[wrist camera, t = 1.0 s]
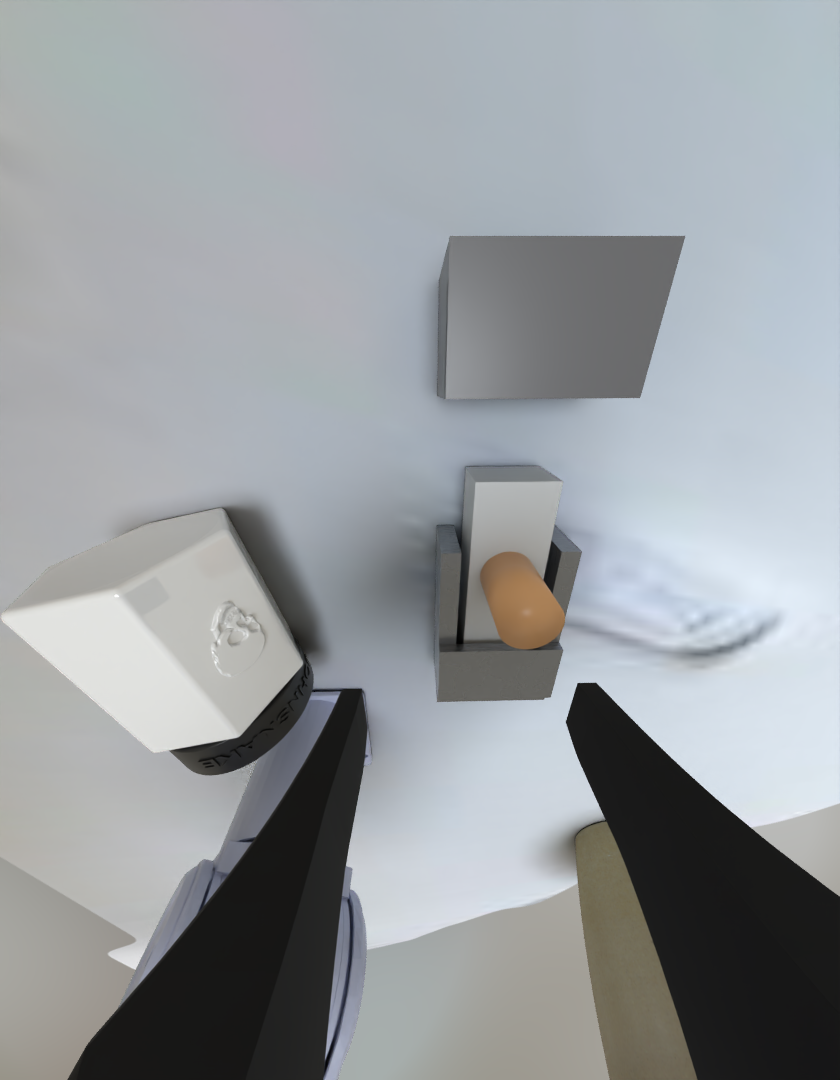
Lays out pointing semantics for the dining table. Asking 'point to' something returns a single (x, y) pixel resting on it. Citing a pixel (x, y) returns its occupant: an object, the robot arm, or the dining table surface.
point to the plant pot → (626, 969)
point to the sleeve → (495, 664)
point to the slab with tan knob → (508, 557)
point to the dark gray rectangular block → (551, 315)
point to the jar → (173, 640)
